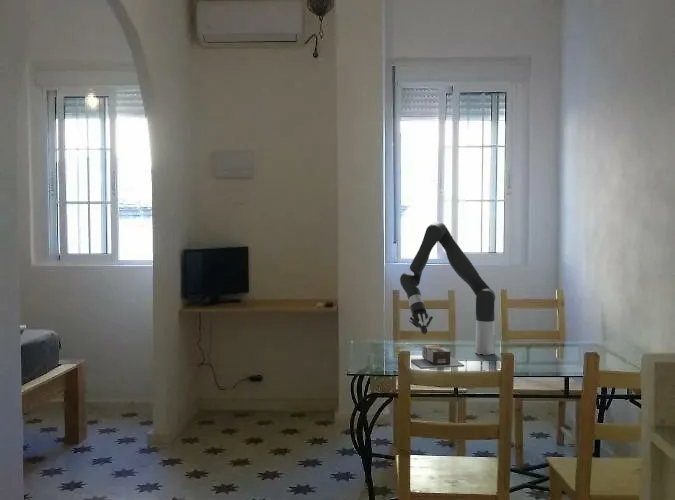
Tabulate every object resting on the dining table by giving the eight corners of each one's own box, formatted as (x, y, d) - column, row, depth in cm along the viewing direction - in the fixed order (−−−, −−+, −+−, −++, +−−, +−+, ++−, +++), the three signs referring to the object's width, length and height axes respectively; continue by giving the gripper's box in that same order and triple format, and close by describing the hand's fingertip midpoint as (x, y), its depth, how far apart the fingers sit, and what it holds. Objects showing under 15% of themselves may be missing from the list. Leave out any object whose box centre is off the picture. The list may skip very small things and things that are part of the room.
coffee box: (422, 357, 383) (432, 365, 367) (422, 344, 382) (432, 352, 367) (439, 357, 385) (450, 364, 369) (439, 344, 384) (450, 351, 368)
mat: (451, 358, 384) (451, 357, 384) (464, 366, 369) (464, 364, 369) (409, 360, 379) (409, 359, 379) (420, 368, 364) (420, 367, 363)
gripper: (406, 301, 397) (414, 329, 386) (430, 300, 400) (439, 328, 390) (403, 310, 403) (410, 338, 392) (426, 309, 406) (435, 336, 395)
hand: (424, 333), depth 391 cm, fingers closed
